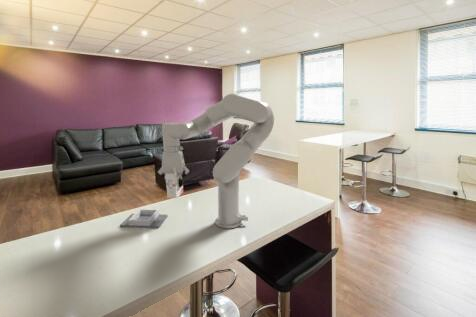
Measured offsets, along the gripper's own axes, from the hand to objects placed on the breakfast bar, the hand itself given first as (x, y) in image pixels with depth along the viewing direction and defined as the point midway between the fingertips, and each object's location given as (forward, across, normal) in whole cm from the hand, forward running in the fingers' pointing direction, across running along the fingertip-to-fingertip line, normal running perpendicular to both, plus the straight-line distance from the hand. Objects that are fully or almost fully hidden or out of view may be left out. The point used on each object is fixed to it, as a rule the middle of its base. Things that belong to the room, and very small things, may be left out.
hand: (174, 186), depth 131 cm
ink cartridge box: (+5, 0, 0) cm, 5 cm away
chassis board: (+16, +14, +5) cm, 22 cm away
